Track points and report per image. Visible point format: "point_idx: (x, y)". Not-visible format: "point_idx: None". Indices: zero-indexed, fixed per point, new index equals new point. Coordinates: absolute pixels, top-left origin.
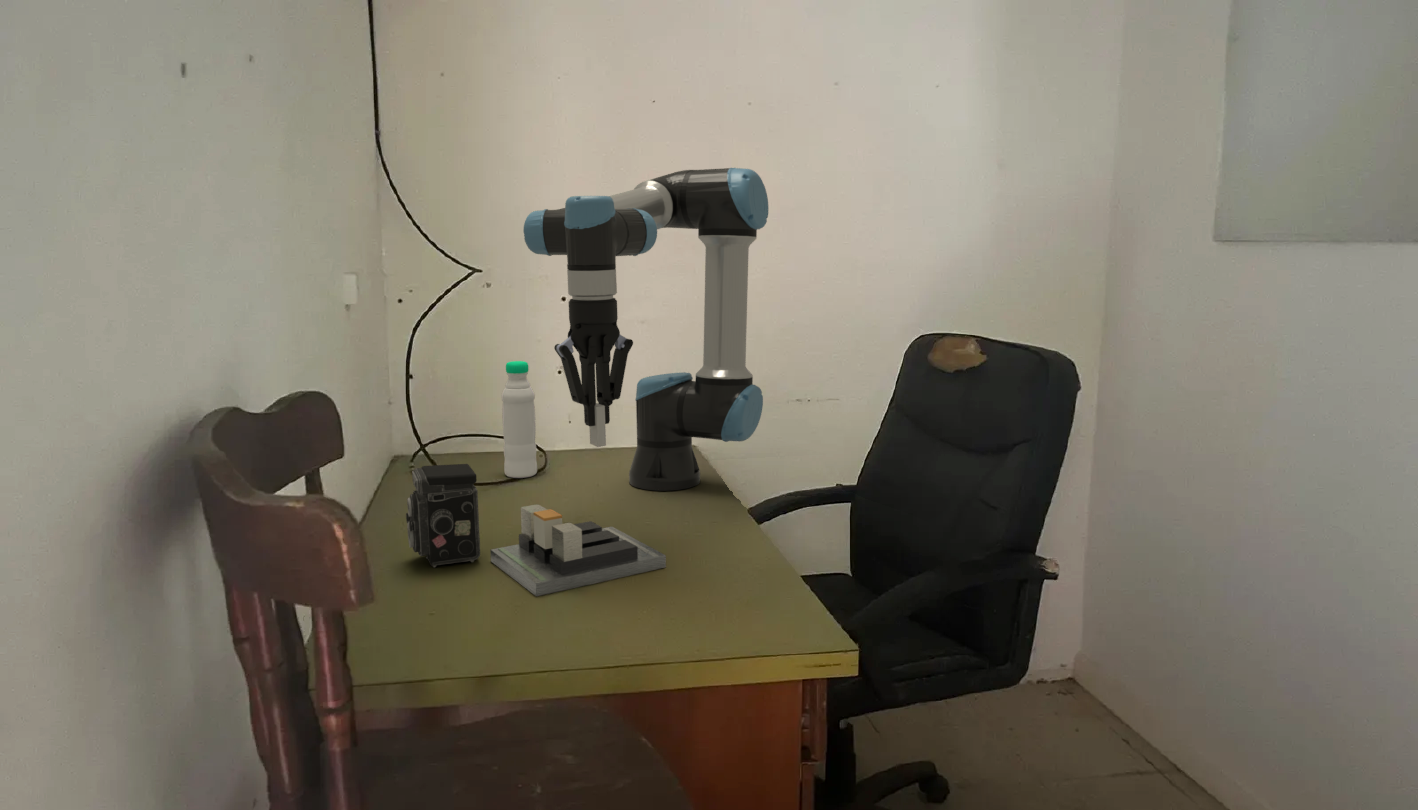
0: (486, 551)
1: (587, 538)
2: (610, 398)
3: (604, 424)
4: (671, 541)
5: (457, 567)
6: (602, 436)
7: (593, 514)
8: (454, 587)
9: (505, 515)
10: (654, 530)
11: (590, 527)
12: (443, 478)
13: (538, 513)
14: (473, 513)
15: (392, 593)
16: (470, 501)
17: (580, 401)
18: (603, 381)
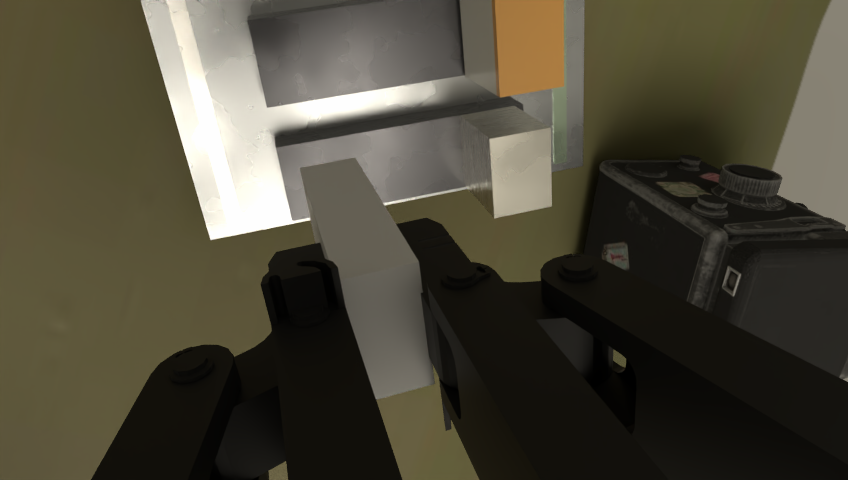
0: (551, 232)
1: (356, 48)
2: (273, 334)
3: (322, 214)
4: (18, 120)
5: (643, 146)
6: (329, 184)
7: None
8: (699, 7)
9: (428, 466)
10: (55, 246)
11: (312, 158)
12: (846, 246)
13: (555, 63)
14: (679, 203)
15: (810, 33)
16: (710, 218)
17: (589, 262)
18: (385, 441)
